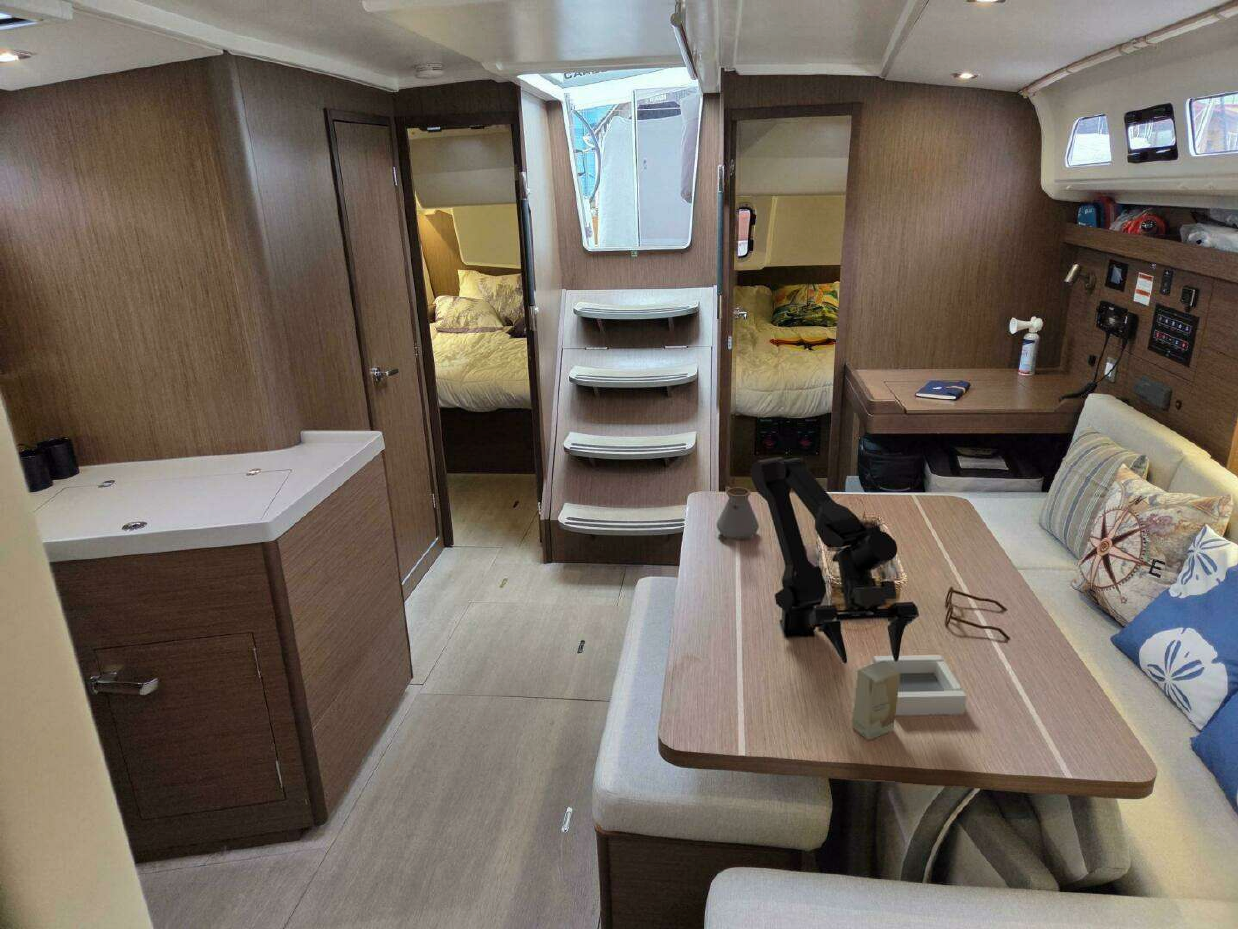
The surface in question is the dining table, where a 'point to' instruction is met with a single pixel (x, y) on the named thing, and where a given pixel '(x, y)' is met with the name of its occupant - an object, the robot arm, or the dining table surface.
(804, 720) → the dining table surface
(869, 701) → the skincare box
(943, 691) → the socket block
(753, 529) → the grey conical vessel
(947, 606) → the glasses
